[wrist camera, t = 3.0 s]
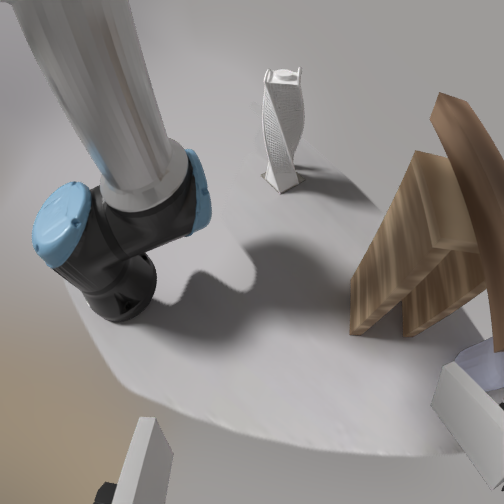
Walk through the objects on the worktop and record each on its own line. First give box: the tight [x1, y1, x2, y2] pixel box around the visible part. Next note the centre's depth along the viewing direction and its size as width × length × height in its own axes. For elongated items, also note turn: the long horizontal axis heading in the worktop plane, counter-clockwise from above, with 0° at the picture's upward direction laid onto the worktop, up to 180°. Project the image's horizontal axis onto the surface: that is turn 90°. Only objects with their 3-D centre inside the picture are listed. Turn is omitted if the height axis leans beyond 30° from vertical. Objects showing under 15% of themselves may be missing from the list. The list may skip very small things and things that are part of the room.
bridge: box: [349, 151, 487, 337], centre depth 33 cm, size 12×10×30 cm
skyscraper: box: [261, 67, 305, 194], centre depth 50 cm, size 8×8×28 cm
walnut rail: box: [430, 92, 504, 353], centre depth 18 cm, size 4×26×4 cm, turn 172°
